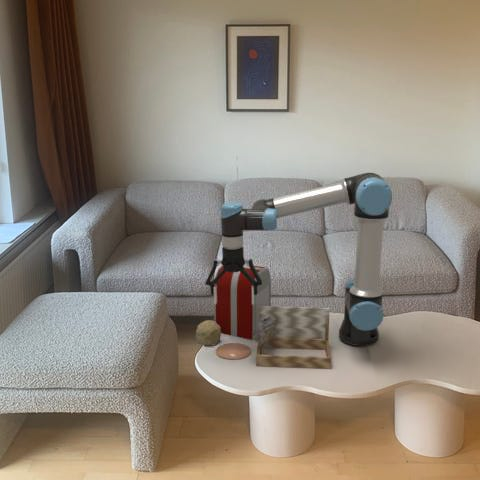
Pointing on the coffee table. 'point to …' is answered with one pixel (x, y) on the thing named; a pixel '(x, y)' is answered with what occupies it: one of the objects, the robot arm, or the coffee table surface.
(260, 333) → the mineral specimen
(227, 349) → the peach round smooth part
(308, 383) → the coffee table surface
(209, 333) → the decorative object
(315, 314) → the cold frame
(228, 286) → the red striped box
